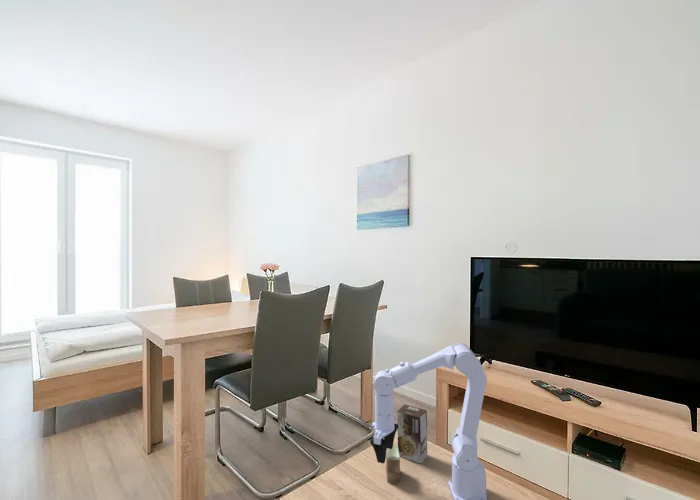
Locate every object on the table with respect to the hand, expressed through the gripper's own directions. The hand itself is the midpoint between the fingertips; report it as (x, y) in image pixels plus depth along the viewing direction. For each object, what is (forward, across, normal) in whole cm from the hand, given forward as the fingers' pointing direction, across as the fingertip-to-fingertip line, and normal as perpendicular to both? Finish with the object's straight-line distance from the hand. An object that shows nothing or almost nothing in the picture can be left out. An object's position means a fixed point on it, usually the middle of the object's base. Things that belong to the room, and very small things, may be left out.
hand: (385, 454), depth 106 cm
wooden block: (+10, -6, 0) cm, 12 cm away
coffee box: (+10, -19, +4) cm, 22 cm away
